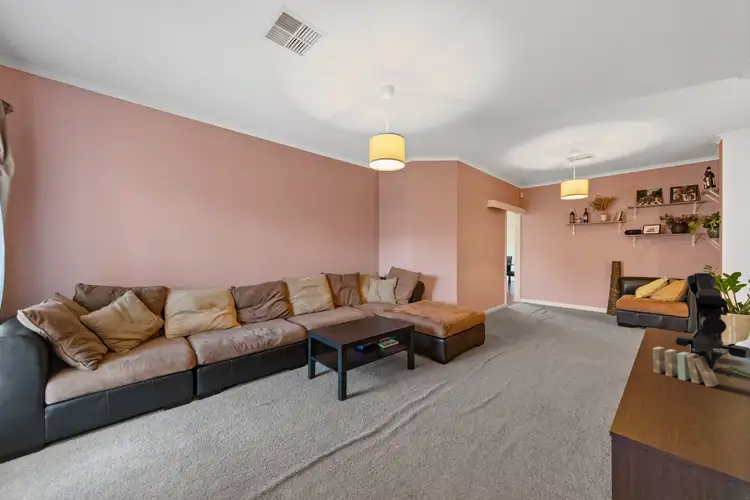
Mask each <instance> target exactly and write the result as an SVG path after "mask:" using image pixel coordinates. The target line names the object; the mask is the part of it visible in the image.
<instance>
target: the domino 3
mask: <svg viewBox="0 0 750 500" xmlns="http://www.w3.org/2000/svg"><path fill="white" fill-rule="evenodd" d="M690 354H691V352H686V351H682V352H677V362H678V375H677V377H678V378H677V379H678V380H681V381H687V380H691V376H690V371H689V366H688V362H687V357H686V356H688V355H690Z"/></svg>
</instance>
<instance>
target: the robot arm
mask: <svg viewBox="0 0 750 500" xmlns="http://www.w3.org/2000/svg"><path fill="white" fill-rule="evenodd" d="M716 283H717V282H716V276H713V275H712V273H709V272H695V273H693V274H691V275H688V276H687V277H686V287H688V290H689V292H690V293H691V294H692V296H694V309H695V311H694V312H695V325H696V326H695V327H696V330H695V331H694V332H692V335H691V337H690V336H687V335H681V336H677V337H676V338H675V345H677V346H683V347H687V346H689V353H690V354H693V353H695V354H698V355H699V356H704V358H705V360H706V362H707V364H708V366H709V368H710V369H712V370H713V372H714V371H716V370H718V369H717V368H716V367H717V366H716V365H717V364H718V363H719V360H720V358H722V357H723V356H725V355H726V354H730V355H731V357H737V358H743V359H746V358H748V357H750V347H747V346H743V345H737V344H733V345H731V346H728V345H724V341H723V333H724V332H725V331H726V330H727V324H726V322H725V321H724V320H723V318H722V316H728V314H729V310H730V309H729V307H728V306H729V304H728V303H727V302H728V301H727V300H726V299H725V298H724V297H722V294H721V292H718V291H716V290H715V289H714V288H715V287H716V285H717V284H716Z"/></svg>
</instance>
